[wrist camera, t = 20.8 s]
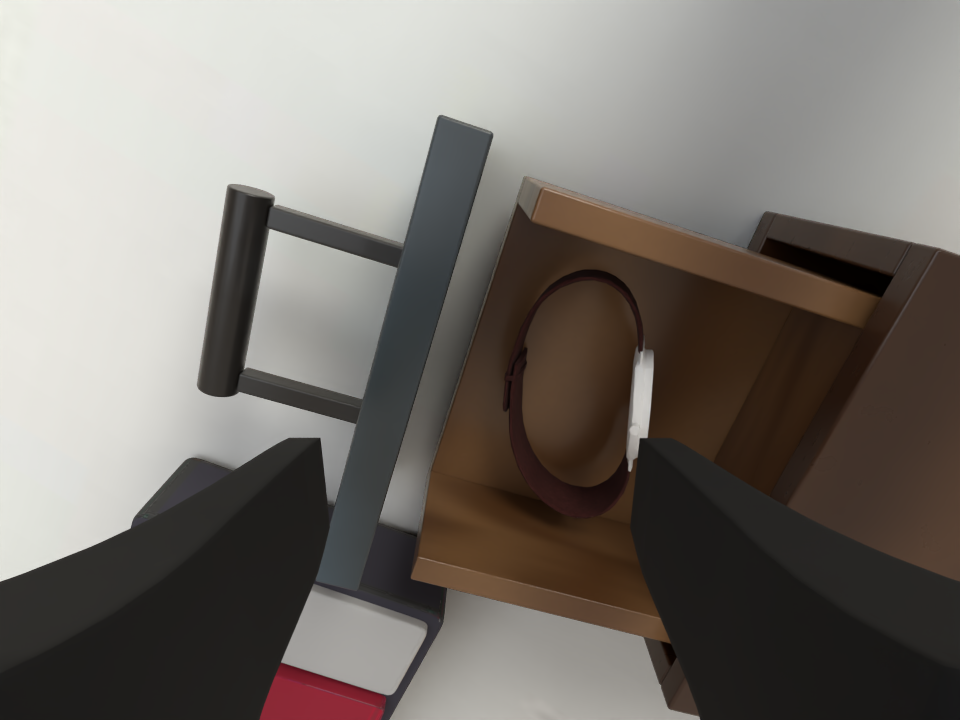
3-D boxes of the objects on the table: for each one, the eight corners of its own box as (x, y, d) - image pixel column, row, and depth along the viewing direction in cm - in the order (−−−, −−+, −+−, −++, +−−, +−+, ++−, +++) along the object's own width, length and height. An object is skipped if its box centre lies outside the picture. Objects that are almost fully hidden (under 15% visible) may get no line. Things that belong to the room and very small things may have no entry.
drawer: (219, 434, 21) (125, 535, 15) (282, 68, 16) (185, 28, 11) (668, 553, 22) (728, 683, 17) (825, 250, 18) (971, 293, 13)
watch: (634, 480, 20) (665, 548, 17) (499, 481, 20) (504, 549, 17) (657, 261, 17) (700, 288, 14) (502, 261, 17) (507, 289, 14)
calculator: (55, 798, 23) (118, 526, 18) (119, 698, 27) (186, 452, 22) (314, 867, 25) (446, 636, 19) (338, 763, 29) (454, 548, 23)
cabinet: (609, 538, 23) (667, 710, 16) (764, 210, 19) (938, 247, 12) (903, 616, 25) (1075, 806, 18) (1112, 328, 20) (1459, 426, 13)
